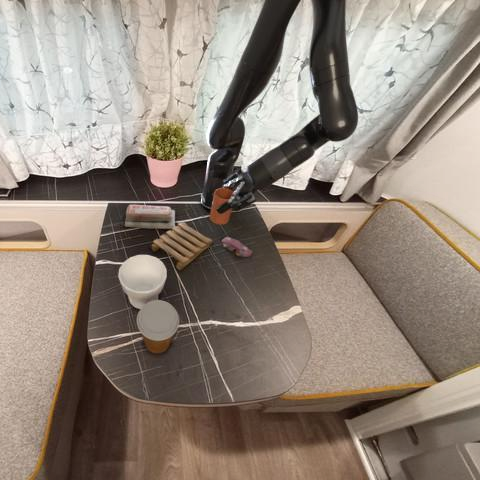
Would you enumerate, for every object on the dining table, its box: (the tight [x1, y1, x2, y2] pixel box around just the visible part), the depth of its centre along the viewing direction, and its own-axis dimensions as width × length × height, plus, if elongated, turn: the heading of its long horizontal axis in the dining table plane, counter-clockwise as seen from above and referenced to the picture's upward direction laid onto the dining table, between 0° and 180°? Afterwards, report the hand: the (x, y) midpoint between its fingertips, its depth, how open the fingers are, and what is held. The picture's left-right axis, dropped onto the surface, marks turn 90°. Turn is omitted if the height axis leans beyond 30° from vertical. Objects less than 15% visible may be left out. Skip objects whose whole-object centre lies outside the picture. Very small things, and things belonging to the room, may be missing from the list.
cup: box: [117, 254, 168, 310], centre depth 73 cm, size 12×12×11 cm
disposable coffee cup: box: [136, 299, 180, 354], centre depth 64 cm, size 10×10×12 cm
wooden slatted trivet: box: [151, 221, 213, 271], centre depth 90 cm, size 16×13×3 cm
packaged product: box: [124, 204, 176, 230], centre depth 99 cm, size 18×5×10 cm
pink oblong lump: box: [221, 236, 253, 258], centre depth 88 cm, size 10×5×7 cm, turn 47°
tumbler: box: [209, 188, 235, 226], centre depth 79 cm, size 6×6×9 cm
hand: (216, 204), depth 78 cm, fingers closed on tumbler, 6 cm apart
